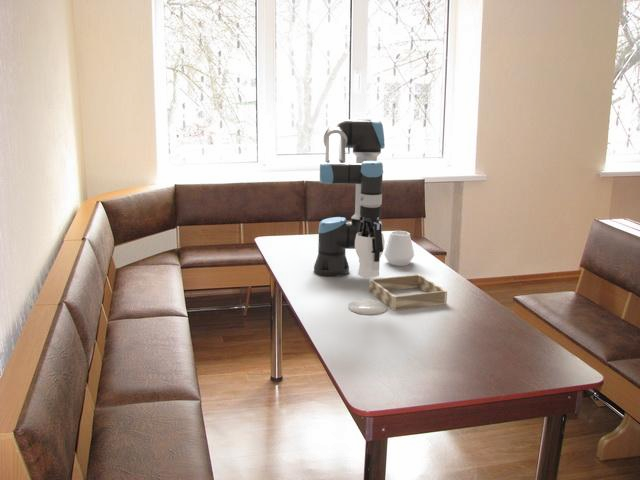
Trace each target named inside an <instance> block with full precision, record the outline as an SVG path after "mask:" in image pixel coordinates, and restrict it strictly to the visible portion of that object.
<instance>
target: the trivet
mask: <svg viewBox="0 0 640 480" xmlns="http://www.w3.org/2000/svg"><path fill="white" fill-rule="evenodd" d="M387 307H388V306H387V305H386V304H385V303H383V302H382V301H378V300H373V299H359V300H355V301H351V302H350V303H348V310H350V311H351V312H352V313H355V314H359V315H363V316H364V315H367V316H368V315H369V316H373V315H379V314H383V313H384V312H386V311H387V309H388V308H387Z"/></svg>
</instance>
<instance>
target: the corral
mask: <svg viewBox="0 0 640 480" xmlns="http://www.w3.org/2000/svg"><path fill="white" fill-rule="evenodd" d="M368 281H369V284H368V292H369V293H370V294H371V295H373V296H375V298H377V299H378V300H379V301H380V302H381V303H384V304H385V305H386V306H387V307H389V308H390V309H391V310H392V311H398V310H406V309H414V308H422V307H431V306H440V305H447V303H448V302H447V299H448V291H447V290H446V289H445V288H443V287H441V286H439V285H438V284H436V283H435V282H433V281H431V280H430V279H428V278H426V277H425V276H423V275H422V274H411V275H409V274H408V275H402V276H401V275H400V276H391V277H388V276H387V277H380V278H379V277H377V278H369V280H368ZM412 288H419V289H420V290H421V291H422V292H420V293H411V294H410V293H409V294H402V295H394V294H393V293H392V292H390V291H394V290H404V289H412Z"/></svg>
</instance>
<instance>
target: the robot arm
mask: <svg viewBox="0 0 640 480" xmlns="http://www.w3.org/2000/svg"><path fill="white" fill-rule="evenodd" d="M384 133H385V132H384V127H383V123H382V122H381V120H378V119H371V118H370V119H348V118H347V119H345V118H344V119H342V120H338V121H336V122H334V123H332V124H331V125H330V126H329V127H328V128H327V129H326V130H325V133H324V135H323V144H324V146H325V162H321V163H320V165H319V181H320V183H322V184H328V185H332V184H333V185H335V184H336V185H339V184H340V185H341V184H344V185H346V184H347V185H355V201H354V202H355V204H354V205H355V206H354V208H355V209H354V214H353V215H352V216H351V219H350V220H351V221H349V220H348V221H347V219H346V217H343V216H342V217H341V216H335V217H327V218H325V219H322V220H321V221H320V222H319V224H318V243H317V245H318V248H317V249H318V250H317V252H318V253H317V257H316V259H315V262H314V265H313V272H314V274H316V275H318V276H323V277H334V278H335V277H343V276H346V275H348V274H349V273H350V266H349V263H348V259H347V256H346V255H347V254H346V249H348V250H349V249H350V250H354V249H355V238H356V234H357V233H359V232H362V237H368V235H370V237H374V238H372V248H373V251H372V265H371V270H379V271H380V259H381V257H380V252H383V253H384V250H383V243H382V234H383V233H382V231H383V230H382V229H383V222H382V221H380V217H382V206H381V205H382V203H383V202H382V201H383V179H384V178H383V174H384V169H383V167H384V165H383V163H382V161H379V160H378V156H379V155H381V153H382V149H385V134H384ZM346 148H347V149H352V153H353V155H355V157H356V159H355V161H356V162H354V163H352V162H346ZM355 250H356V249H355Z"/></svg>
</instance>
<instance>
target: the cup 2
mask: <svg viewBox="0 0 640 480" xmlns="http://www.w3.org/2000/svg"><path fill="white" fill-rule="evenodd" d="M411 238H412V237H411V233H410V232H408V231H405V230H393V231H390V233H389V236H388V239H387V243H386V246H385V247H384V251H383V253H384V254H383V255H384V257H385V259H386V261H387V262H388V264H389V265H392V266H397V267H398V266H400V267H402V266H408V265H410V262H411V261H412V260H413V258H414V256H415V253H414V252H415V251H414V248H413V242H412V239H411Z"/></svg>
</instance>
